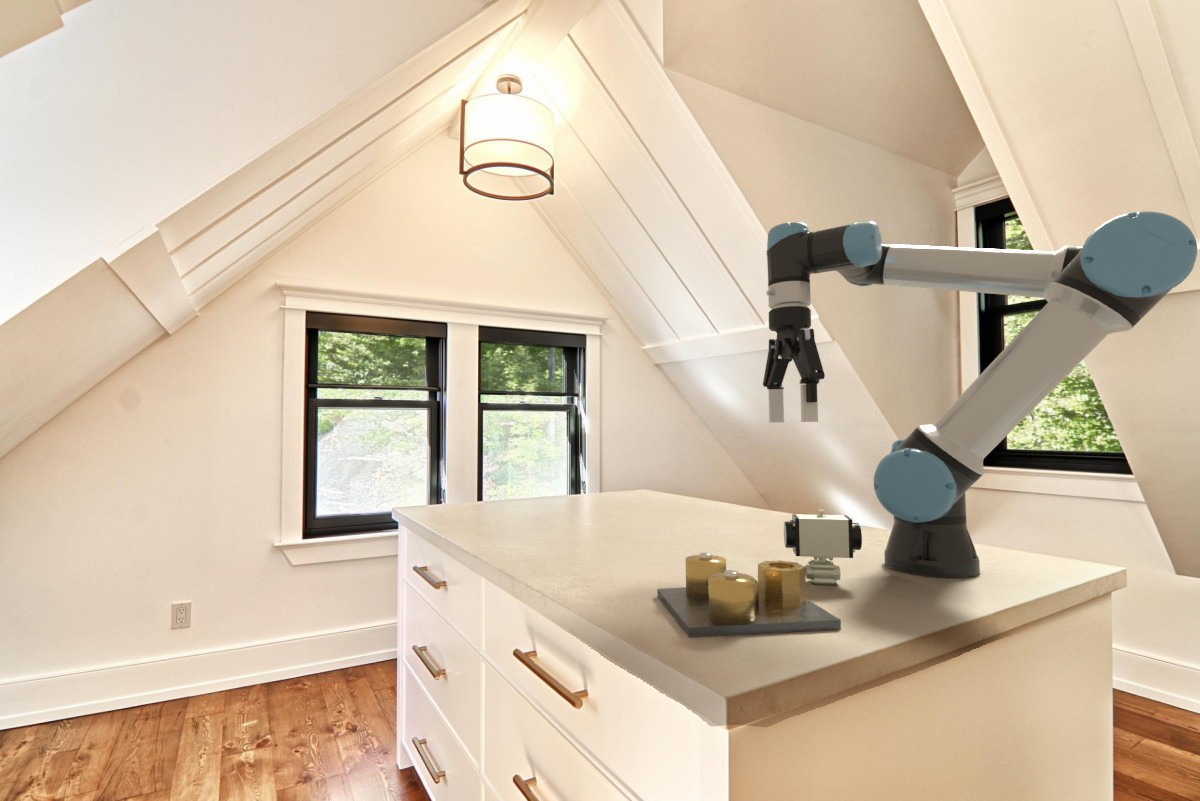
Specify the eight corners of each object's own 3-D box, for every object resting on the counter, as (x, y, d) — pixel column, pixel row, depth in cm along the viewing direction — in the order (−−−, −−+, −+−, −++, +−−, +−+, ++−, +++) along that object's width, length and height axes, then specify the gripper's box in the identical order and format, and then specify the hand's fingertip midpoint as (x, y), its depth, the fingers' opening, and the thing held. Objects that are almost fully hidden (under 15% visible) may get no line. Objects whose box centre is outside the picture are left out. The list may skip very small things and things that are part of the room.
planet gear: (792, 593, 88) (792, 559, 88) (812, 606, 82) (811, 569, 83) (753, 595, 88) (753, 561, 88) (770, 608, 82) (769, 571, 82)
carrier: (781, 590, 94) (780, 546, 95) (840, 629, 76) (839, 574, 77) (657, 596, 92) (656, 550, 92) (689, 637, 74) (688, 580, 74)
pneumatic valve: (863, 588, 95) (861, 512, 96) (787, 584, 98) (785, 511, 98) (856, 579, 101) (854, 508, 101) (784, 576, 103) (782, 506, 104)
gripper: (745, 320, 123) (747, 422, 122) (801, 293, 98) (804, 421, 97) (779, 320, 124) (782, 422, 123) (843, 294, 99) (847, 421, 98)
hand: (792, 422), depth 110 cm, fingers open, 13 cm apart
